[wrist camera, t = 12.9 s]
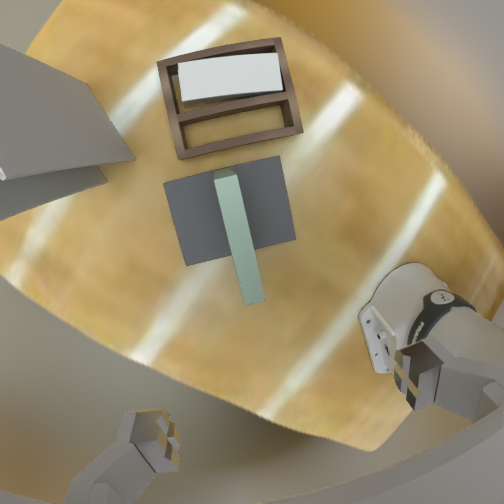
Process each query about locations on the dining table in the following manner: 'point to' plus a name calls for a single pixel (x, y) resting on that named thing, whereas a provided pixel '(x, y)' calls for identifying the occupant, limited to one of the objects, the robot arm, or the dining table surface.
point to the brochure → (49, 135)
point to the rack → (283, 99)
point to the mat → (210, 216)
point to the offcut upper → (229, 77)
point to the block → (239, 235)
